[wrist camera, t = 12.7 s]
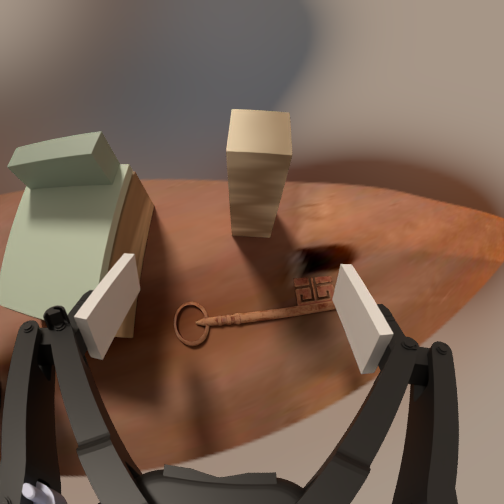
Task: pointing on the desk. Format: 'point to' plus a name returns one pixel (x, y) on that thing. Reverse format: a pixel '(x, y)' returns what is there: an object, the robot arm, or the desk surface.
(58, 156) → the lid
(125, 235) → the light wooden box
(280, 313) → the key
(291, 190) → the desk surface
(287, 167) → the block
